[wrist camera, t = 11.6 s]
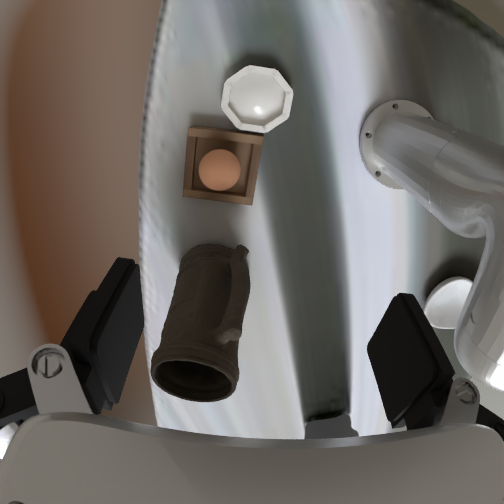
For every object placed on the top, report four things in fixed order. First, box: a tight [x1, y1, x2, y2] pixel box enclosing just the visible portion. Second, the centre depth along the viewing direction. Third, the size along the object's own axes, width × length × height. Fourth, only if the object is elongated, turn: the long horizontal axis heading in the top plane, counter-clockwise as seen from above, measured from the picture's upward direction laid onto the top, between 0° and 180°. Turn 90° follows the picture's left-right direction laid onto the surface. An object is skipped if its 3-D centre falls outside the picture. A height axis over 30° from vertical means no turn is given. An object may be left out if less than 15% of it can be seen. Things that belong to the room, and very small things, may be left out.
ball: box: [199, 149, 241, 191], centre depth 35 cm, size 5×5×5 cm
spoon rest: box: [424, 277, 473, 329], centre depth 47 cm, size 24×12×7 cm, turn 74°
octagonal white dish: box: [221, 65, 293, 133], centre depth 33 cm, size 8×8×2 cm
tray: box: [183, 126, 264, 205], centre depth 37 cm, size 9×9×2 cm
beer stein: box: [151, 244, 250, 402], centre depth 37 cm, size 15×11×20 cm
